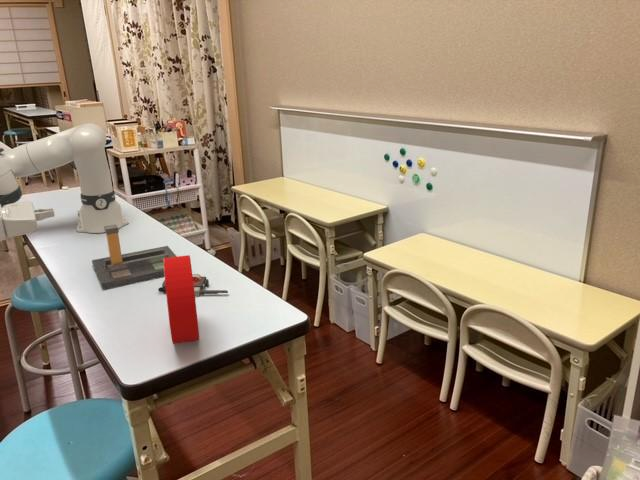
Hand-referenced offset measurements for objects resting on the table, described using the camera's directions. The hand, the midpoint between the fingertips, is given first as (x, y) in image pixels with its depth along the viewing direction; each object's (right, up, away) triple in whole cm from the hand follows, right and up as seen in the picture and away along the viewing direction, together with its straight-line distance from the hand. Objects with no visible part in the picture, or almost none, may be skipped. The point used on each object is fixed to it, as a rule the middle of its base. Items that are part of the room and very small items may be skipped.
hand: (53, 212), depth 141 cm
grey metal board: (+17, -17, +17) cm, 30 cm away
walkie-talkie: (+39, -23, +4) cm, 45 cm away
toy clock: (+42, -31, -20) cm, 56 cm away
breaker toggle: (+12, -16, +14) cm, 24 cm away
